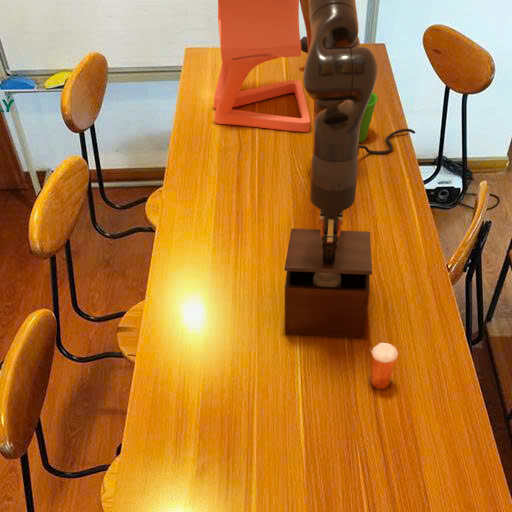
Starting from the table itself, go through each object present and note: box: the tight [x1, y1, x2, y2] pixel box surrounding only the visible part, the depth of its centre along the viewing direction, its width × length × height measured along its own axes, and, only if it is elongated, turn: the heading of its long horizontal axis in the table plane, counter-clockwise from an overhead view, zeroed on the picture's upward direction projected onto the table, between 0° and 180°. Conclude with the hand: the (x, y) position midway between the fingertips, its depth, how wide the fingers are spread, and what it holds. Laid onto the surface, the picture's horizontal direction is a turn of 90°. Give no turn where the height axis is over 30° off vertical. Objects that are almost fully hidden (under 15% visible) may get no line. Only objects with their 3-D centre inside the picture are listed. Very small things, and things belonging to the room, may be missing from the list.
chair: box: [213, 0, 311, 133], centre depth 178 cm, size 24×26×35 cm
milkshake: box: [368, 342, 399, 390], centre depth 124 cm, size 4×5×10 cm
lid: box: [284, 228, 373, 276], centre depth 130 cm, size 17×16×1 cm
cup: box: [358, 91, 379, 144], centre depth 178 cm, size 9×9×11 cm
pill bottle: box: [313, 272, 342, 287], centre depth 137 cm, size 6×6×10 cm
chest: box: [284, 271, 371, 340], centre depth 137 cm, size 17×16×12 cm
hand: (328, 259), depth 125 cm, fingers closed
